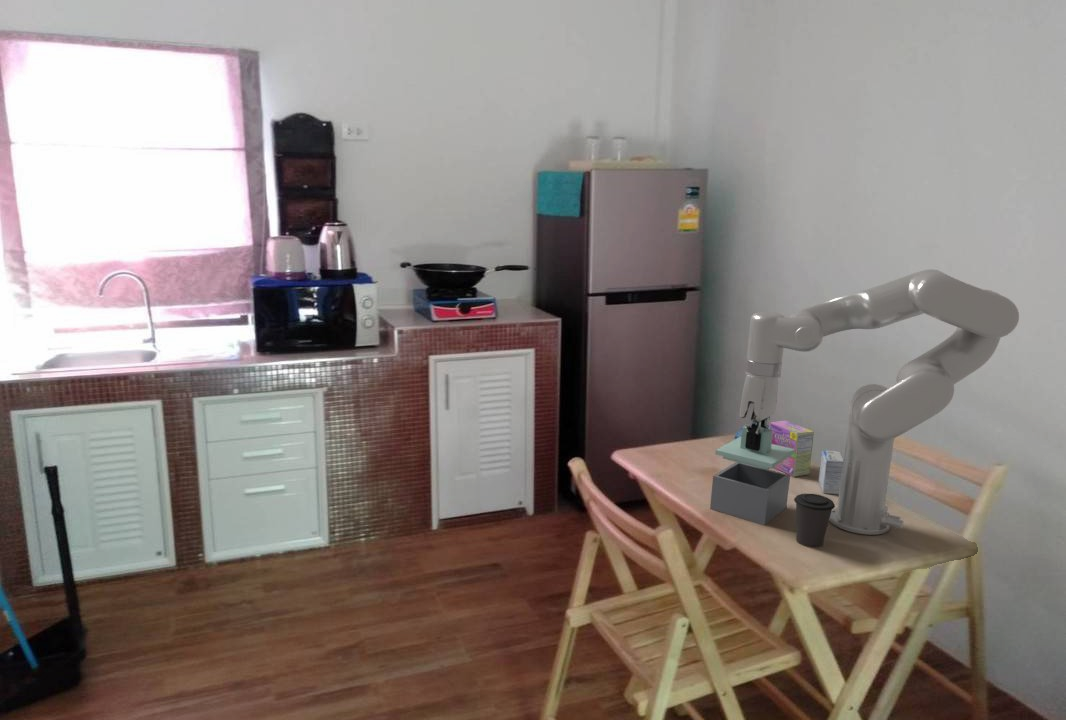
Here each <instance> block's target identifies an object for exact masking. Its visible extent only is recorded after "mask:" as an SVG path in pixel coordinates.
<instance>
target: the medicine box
mask: <svg viewBox="0 0 1066 720" xmlns="http://www.w3.org/2000/svg"><path fill="white" fill-rule="evenodd" d="M820 457H821V458H820V465H819V471H818V472H819V473H818V483H819V485H820V489H821V490H822V493H823V494H827V495H837V496H839V491H840V483H841V476H842V468H843V461H844V457H843V456H842V453H841V452H840V451H836V450H822V451H821V455H820Z"/></svg>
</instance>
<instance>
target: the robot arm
mask: <svg viewBox="0 0 1066 720" xmlns="http://www.w3.org/2000/svg"><path fill="white" fill-rule="evenodd" d="M924 314H925V315H927V316H929V317H932V318H933V319H934V318H935V319H936V320H939V321H941V322H943V323H946V324H948V325H951V326H953V327H957V328H956V329H955V331H954V332H953V333H952V334H951V335H950V336H949V337H947V338H946V339H944V340H943V341H942V342H940V343H938V344H937V345H935V346H934V347H933V348H931V349H929V350H927V351H925V352H924V353H923V354H921V355H919V356H918V357H915V358H914V359H912V360H911V361H908V362H907V363H905V364H904V365H903V366H901V368H900V369H899V370H898V372H897V374H896V377H895V378H896V383H895V384H893V385H891V386H889V387H888V388H887V387H885V386H883V385H880V384H877V383H869V384H865V385H863V386H861V387H859V388H858V389H857V390H856V391H855V392H854V393H853V395H852V396H851V399H850V400H849V407H848V413H847V414H848V415H847V416H848V417H847V428H846V429H847V430H846V440H845V448H844V455H843V460H844V461H843V468H842V476H841V483H840V491H839V495H838V500H837V508H833V509H832V511H831V515H830V519H829V522H830V523H831V524H833V525H834V526H835V527H838V528H839V529H841V530H844V531H847V532H851V533H854V534H859V535H866V536H868V535H869V536H872V535H873V536H875V535H881V534H885V533H887V532H888V531H889V529H890V527H892V528H895V529H898V530H902V529H903V527H904V523H905V521H904V520H902V519H901V518H902V517H901V516H898V515H893V514H890V512H888V509H889V507H888V506H887V505H885V504H886V497H887V490H888V484H889V478H890V477H889V476H890V469H891V466H892V465H891V464H892V457H893V453H894V452H893V451H894V440H895V438H898V437H899V436H902V435H904V434H905V433H906V432H908V431H911V430H912V429H914V428H916V427H918V426H919V425H921V424H923V423H924V422H926V421H928V420H930V419H931V418H933V417H934V416H936V415H938V414H939V413H940V412H942V411H943V410H945V408H947V407H948V405H949V404H950V403H951V401H952V399H953V397H954V394H955V385H956V384H957V383H959V382H960V381H962V380H964V379H965V378H967V377H968V376H970V375H971V374H973V373H975V372H976V371H977V370H978V369H980V368H982V366H984V365H985V364H986V363H987V362H988V361H989V360H990V359H991V358H992V357H993V355H994V354H995V351H996V350H997V348H998V346H999V343H1000V340H1001V338H1003V337H1006V336H1008V335H1010V334H1011V333H1012V332H1014V331H1015V329H1016V327H1017V325H1018V323H1019V320H1020V314H1019V309H1018V307H1017V306H1016V304H1015V303H1014V302H1013V301H1012V300H1011V299H1009V298H1008V297H1007V296H1004V295H1002V294H1000V293H998V292H996V291H993V290H992V289H991V290H989V289H983V288H980V287H977V286H975V285H972V284H968V283H966V282H963V281H961V280H959V279H958V278H954V277H953V276H951V275H949V274H947V273H945V272H942V271H939V270H937V269H925V270H921V271H917V272H915V273H911V274H909V275H905V276H902V277H899V278H897V279H895V280H892V281H891V280H890V281H888V282H885V283H883V284H879V285H877V286H874V287H871V288H868V289H865V290H862V291H861V290H860V291H858V292H853V293H850V294H847V295H844V296H840V297H836V298H833V299H829V300H826V301H823V302H820V303H817V304H814V305H811V306H807V307H805V308H804V309H801V310H800V309H799V310H798V311H795V312H794V313H792V314H791V315H790V316H789V317H785V315H783V314H781V313H777V312H773V311H772V312H771V311H769V312H768V311H759V312H754V313H752V315H751V316H750V323H749V330H748V331H749V333H748V342H747V343H748V344H747V352H746V353H747V354H746V366H745V379H744V382H743V383H744V384H743V389H742V394H741V399H740V400H741V401H740V408H739V417H740V418H741V419H744V422H743V425H744V426H746V427H747V428H746V432H747V434H746V444H745V447H746V448H747V449H751V450H755V451H759V450H760V441H761V434H760V427H762V428H767V429H770V419H771V417H772V416H773V415H774V414H775V412H776V410H777V409H776V408H777V400H778V391H779V390H778V386H779V378H781V375H782V366H783V365H782V364H783V355H784V349H788V350H792V351H796V352H803V353H807V352H811V351H814V350H816V349H817V348H818V347H819V346H820V345H821V344H822V341H823V338H824V337H827V336H830V335H834V334H836V333H840V332H845V331H849V330H877V329H880V328H884V327H887V326H890V325H894V324H895V323H897V322H898V323H899V322H901V321H904V320H908V319H910V318H915V317H918V316H920V315H924ZM753 417H756V419H754V418H753ZM753 422H755V424H754V423H753Z"/></svg>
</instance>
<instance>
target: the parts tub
mask: <svg viewBox="0 0 1066 720" xmlns="http://www.w3.org/2000/svg"><path fill="white" fill-rule="evenodd" d="M790 480H791V475H788V474H786V473H784V472H781V471H780V472H779V471H776V470H772V469H771V470H770V469H768V470H767V469H763V468H759V467H755V466H751V465H747V464H743V463H739V462H734V463H732V464H730V465H729V466H727V467H726V468H724V469H722V470H720V471H719V472H717V473H716V474H714V475H713V476H712V485H711V493H710V494H711V496H710V507H709V509H710V510H712V511H713V510H714V511H716V512H720V513H723V514H725V515H730V516H733V517H737V518H739V519H743V520H747V521H750V522H753V523H756V524H759V525H763V526H765V525H766V524H768V523H769V522H771V521H772V520H773V519H774V518H775V517H777V516H778V515H779V514H780V513H782V512H783V511H784V510H786V509H787V505H788V497H789V488H790Z"/></svg>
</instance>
